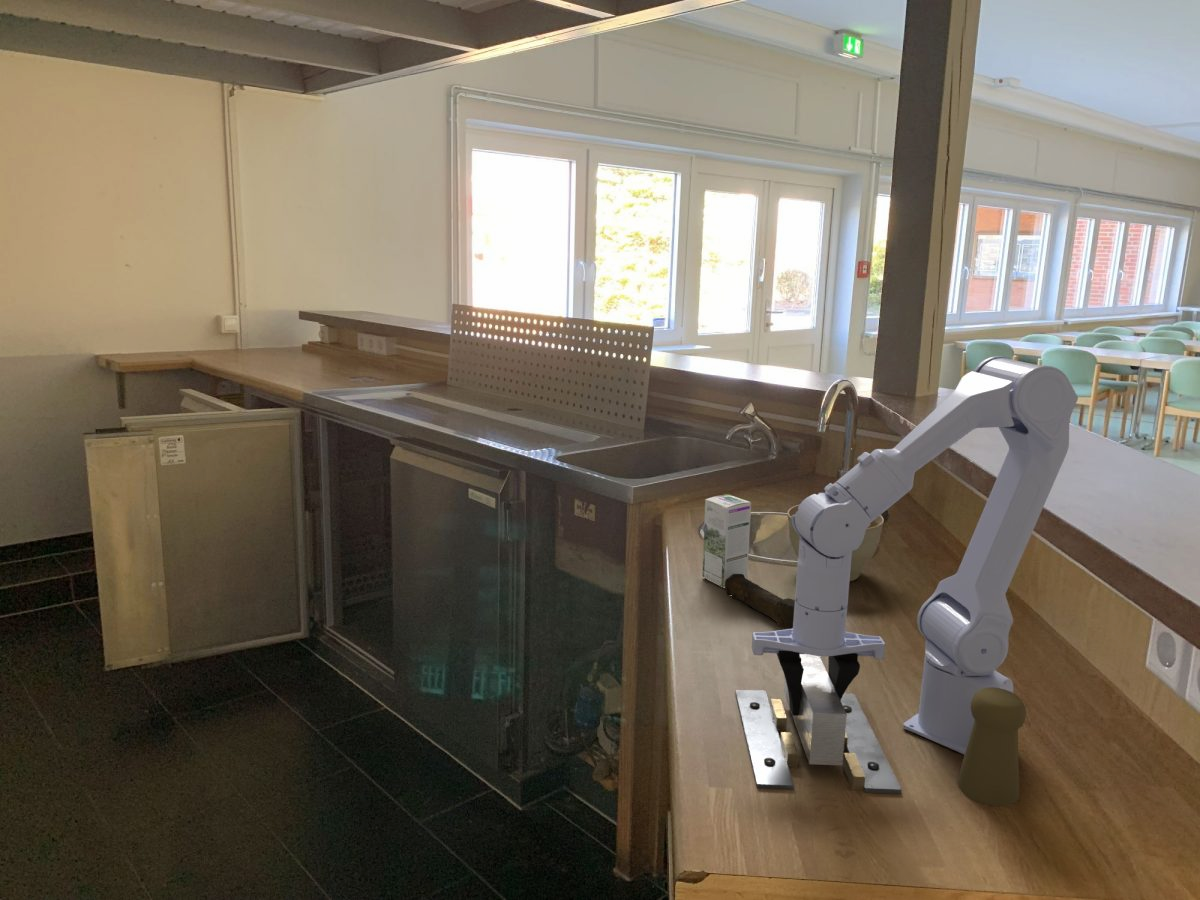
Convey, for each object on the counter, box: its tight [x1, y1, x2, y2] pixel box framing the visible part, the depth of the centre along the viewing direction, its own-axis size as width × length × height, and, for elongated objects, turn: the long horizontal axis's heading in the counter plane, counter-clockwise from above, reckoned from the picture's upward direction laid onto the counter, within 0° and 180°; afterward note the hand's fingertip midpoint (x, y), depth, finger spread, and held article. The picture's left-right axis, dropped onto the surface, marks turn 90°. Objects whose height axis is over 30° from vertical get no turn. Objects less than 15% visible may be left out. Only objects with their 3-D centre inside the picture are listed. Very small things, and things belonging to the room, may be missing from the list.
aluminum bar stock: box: [783, 654, 847, 766], centre depth 99 cm, size 4×16×6 cm, turn 178°
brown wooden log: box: [724, 574, 795, 630], centre depth 133 cm, size 19×4×5 cm, turn 25°
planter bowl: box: [786, 504, 885, 582], centre depth 151 cm, size 16×16×11 cm
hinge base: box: [735, 689, 903, 795], centre depth 100 cm, size 15×20×2 cm
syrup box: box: [701, 494, 752, 588], centre depth 146 cm, size 6×6×14 cm
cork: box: [956, 687, 1027, 807], centre depth 90 cm, size 6×6×11 cm
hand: (812, 711), depth 99 cm, fingers closed on aluminum bar stock, 3 cm apart
